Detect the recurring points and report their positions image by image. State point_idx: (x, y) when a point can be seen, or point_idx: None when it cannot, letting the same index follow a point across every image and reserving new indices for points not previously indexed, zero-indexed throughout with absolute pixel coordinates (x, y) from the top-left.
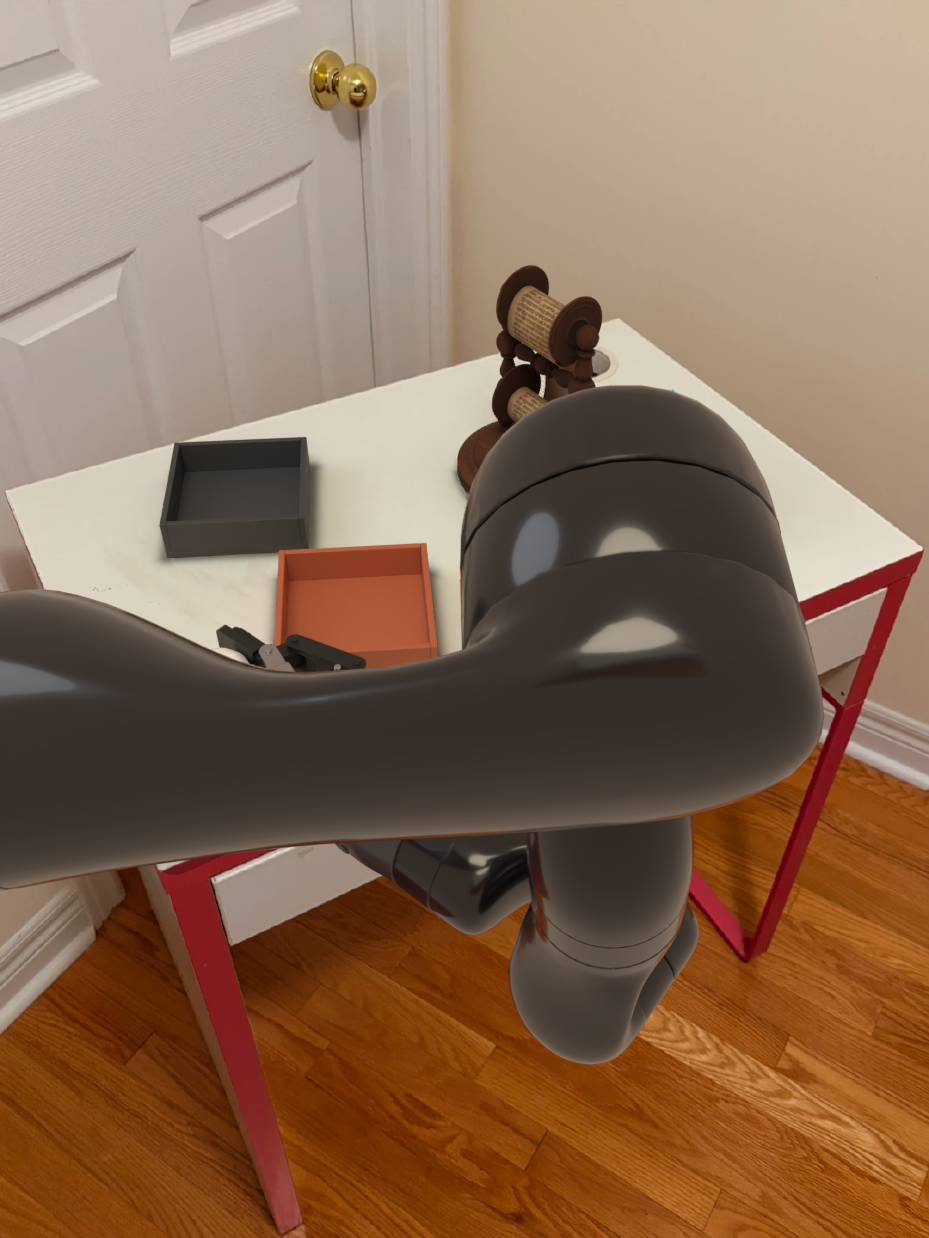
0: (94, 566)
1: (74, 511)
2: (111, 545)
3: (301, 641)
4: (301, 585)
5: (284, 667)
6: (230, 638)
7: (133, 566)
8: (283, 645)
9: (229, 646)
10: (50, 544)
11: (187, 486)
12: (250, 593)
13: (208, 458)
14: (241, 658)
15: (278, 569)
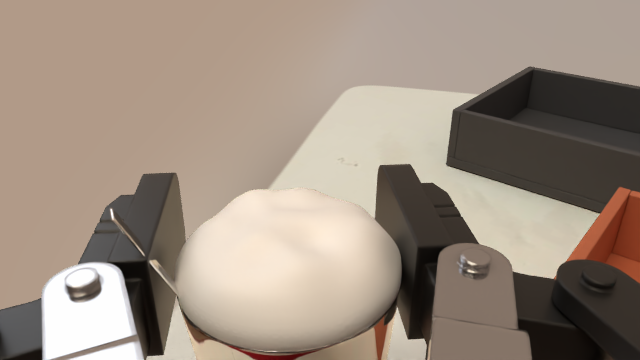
0: (360, 143)
1: (387, 103)
2: (395, 135)
3: (626, 297)
4: (633, 268)
5: (494, 344)
6: (392, 190)
7: (400, 157)
8: (543, 283)
9: (386, 221)
10: (340, 115)
11: (520, 117)
12: (533, 244)
13: (562, 96)
14: (380, 250)
15: (605, 208)
